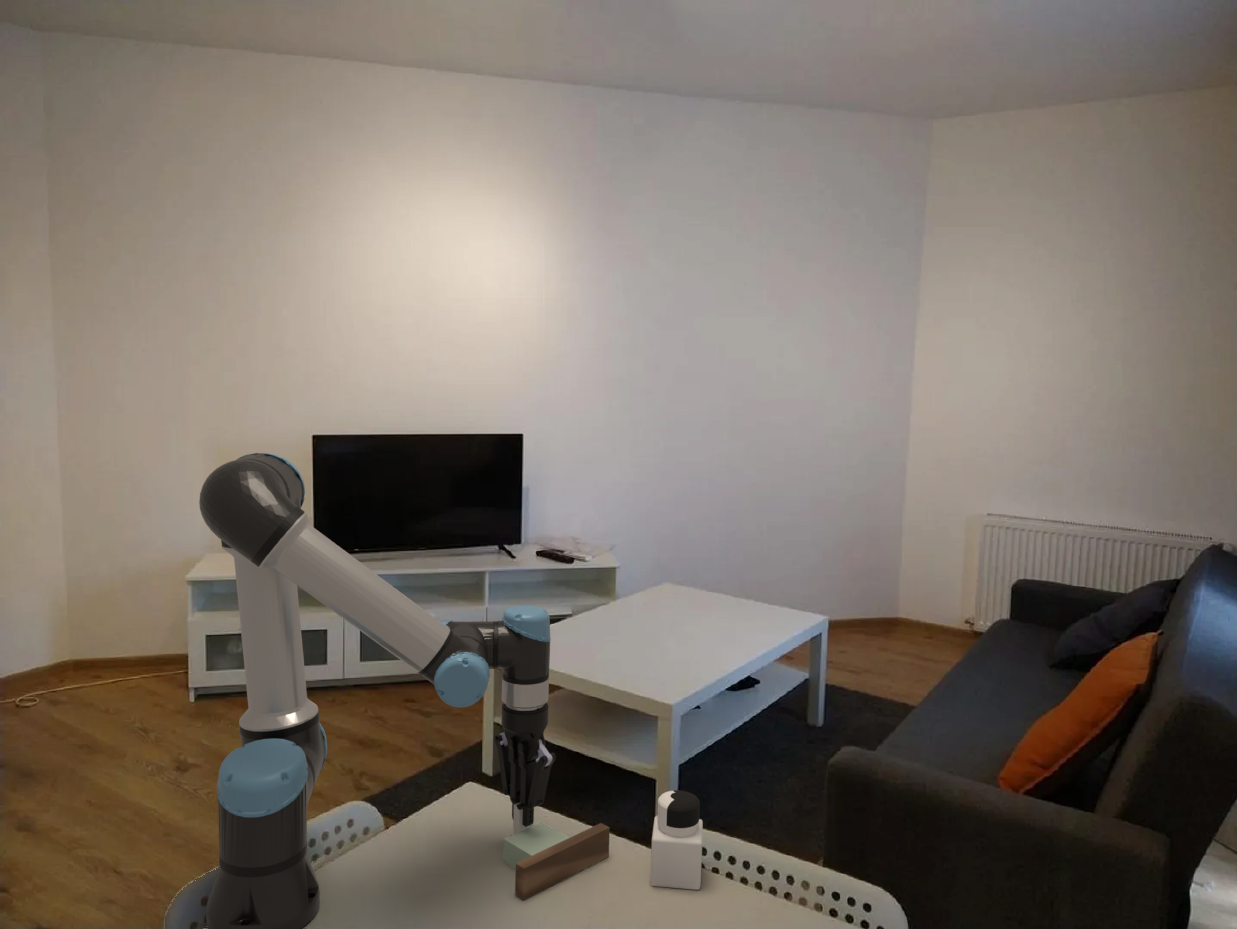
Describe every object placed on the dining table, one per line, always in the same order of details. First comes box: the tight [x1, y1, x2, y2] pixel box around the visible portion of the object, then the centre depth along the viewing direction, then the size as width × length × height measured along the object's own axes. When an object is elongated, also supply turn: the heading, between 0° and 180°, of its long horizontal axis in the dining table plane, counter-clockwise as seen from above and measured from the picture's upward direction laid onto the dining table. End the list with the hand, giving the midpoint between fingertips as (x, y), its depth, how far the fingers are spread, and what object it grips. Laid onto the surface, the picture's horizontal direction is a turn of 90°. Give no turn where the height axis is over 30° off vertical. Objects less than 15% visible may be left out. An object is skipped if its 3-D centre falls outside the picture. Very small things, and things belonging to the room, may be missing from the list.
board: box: [514, 822, 611, 901], centre depth 141 cm, size 2×18×5 cm, turn 136°
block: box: [503, 822, 570, 870], centre depth 145 cm, size 8×8×4 cm
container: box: [649, 789, 704, 891], centre depth 142 cm, size 8×8×13 cm
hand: (522, 841), depth 148 cm, fingers closed
